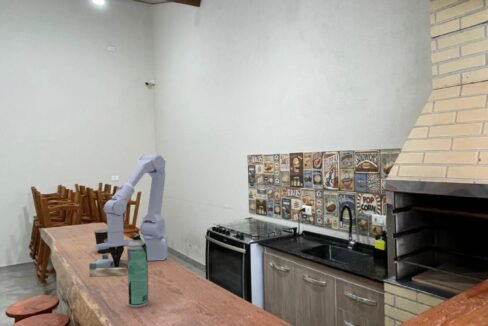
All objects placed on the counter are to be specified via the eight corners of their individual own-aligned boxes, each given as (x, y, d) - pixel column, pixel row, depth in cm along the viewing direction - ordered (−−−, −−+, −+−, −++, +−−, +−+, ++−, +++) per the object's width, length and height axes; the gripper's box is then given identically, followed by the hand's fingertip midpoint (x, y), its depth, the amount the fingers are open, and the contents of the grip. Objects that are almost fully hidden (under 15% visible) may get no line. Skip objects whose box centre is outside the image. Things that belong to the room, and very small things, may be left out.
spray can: (150, 299, 105) (148, 232, 105) (146, 307, 100) (144, 236, 100) (131, 300, 105) (130, 233, 105) (126, 308, 100) (124, 237, 100)
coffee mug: (93, 255, 158) (93, 233, 158) (96, 250, 167) (95, 229, 166) (121, 252, 161) (120, 230, 161) (122, 248, 170) (121, 227, 170)
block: (116, 267, 139) (116, 258, 139) (109, 273, 132) (109, 264, 132) (98, 268, 139) (98, 259, 139) (91, 273, 132) (90, 264, 132)
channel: (136, 264, 142) (135, 253, 142) (125, 275, 129) (125, 263, 129) (103, 265, 142) (103, 254, 142) (89, 276, 128) (89, 264, 128)
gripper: (133, 227, 142) (134, 261, 142) (94, 231, 135) (95, 266, 136) (136, 230, 136) (137, 265, 136) (95, 234, 129) (96, 271, 129)
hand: (116, 266), depth 135 cm, fingers closed
